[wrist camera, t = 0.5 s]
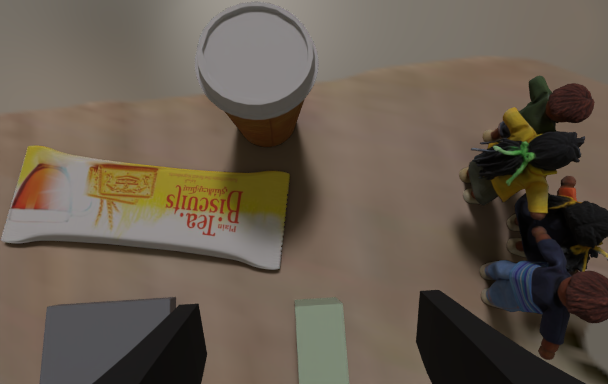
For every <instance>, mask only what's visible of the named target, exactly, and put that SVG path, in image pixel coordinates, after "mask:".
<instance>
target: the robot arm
mask: <svg viewBox="0 0 608 384" xmlns="http://www.w3.org/2000/svg"><path fill="white" fill-rule="evenodd" d="M416 343H417V346H418V349H419V352H420V355H421V358H422V361H423V363H424V366H425V369H426V371H427V374H428V376H429V378H430V380H431V382H432V384H585V383H584V382H582V381H580V380H578V379H576V378H574V377H572V376H571V375H569V374H567V373H565V372H563V371H562V370H560V369H558V368H556V367H554V366H552V365H551V364H549V363H547V362H546V361H544V360H542V359H540V358H539V357H537V356H535V355H534V354H532V353H531V352H529V351H527V350H526V349H524V348H523V347H521V346H519V345H518V344H516V343H515V342H513V341H512V340H510V339H509V338H507V337H506V336H504V335H502V334H501V333H499V332H498V331H497V330H495V329H494V328H492V327H491V326H489V325H488V324H486V323H485V322H483V321H482V320H481V319H479V318H478V317H476V316H475V315H474V314H472V313H471V312H469V311H468V310H467V309H465V308H464V307H462V306H461V305H460V304H458V303H457V302H456V301H454V300H453V299H451V298H450V297H448V296H447V295H446V294H444V293H443V292H441V291H440V290H429V291H420V298H419V311H418V323H417V336H416ZM206 357H207V351H206V345H205V339H204V333H203V327H202V322H201V316H200V310H199V304H186V305H179V306H178V307H177V308H175V309H174V310H173V311H172V312H171V313H170V314H169V315H168V316H167V317H166V318H165V319H164V320H163V321H162V322H161V323H160V324H159V325H158V326H157V327H156V328H154V329H153V330H152V331H151V332H150V333H149V334H148V335H147V336H146V337H145V338H144V339H143V340H142V341H141V342H140V343H138V344H137V345H136V346H135V347H134V348H133V349H132V350H131V351H130V352H129V353H128V354H126V355H125V356H124V357H123V358H122V359H121V360H119V361H118V362H117V363H116V364H115V365H114V366H113V367H111V368H110V369H109V370H108V371H107V372H106V373H104V374H103V375H102V376H101V377H100V378H99V379H97V380H96V381H95V382H94V383H92V384H201V381H202V377H203V372H204V367H205V362H206Z"/></svg>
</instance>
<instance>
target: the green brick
mask: <svg viewBox="0 0 608 384" xmlns="http://www.w3.org/2000/svg"><path fill="white" fill-rule="evenodd" d="M295 313H296V333H297V352H298V371H299V384H349V376H348V363H347V351H346V338H345V326H344V313H343V303H342V302H340V301H339V300H338V299H337V298H336V297H332V298H317V299H302V300H295Z"/></svg>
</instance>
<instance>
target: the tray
mask: <svg viewBox="0 0 608 384" xmlns="http://www.w3.org/2000/svg"><path fill="white" fill-rule="evenodd" d="M175 308H176V297H169V298H154V299H138V300H123V301H107V302H92V303H76V304H61V305H54V306H49V307H47V312H46V322H45V333H44V343H43V353H42V364H41V374H40V384H92V383H94V382H95V381H96V380H97V379H99V378H100V377H101V376H102V375H103V374H104V373H106V372H107V371H108V370H109V369H110V368H111V367H113V366H114V365H115V364H116V363H117V362H118V361H119V360H121V359H122V358H123V357H124V356H125V355H126V354H128V353H129V352H130V351H131V350H132V349H133V348H134V347H135V346H136V345H137V344H138V343H140V342H141V341H142V340H143V339H144V338H145V337H146V336H147V335H148V334H149V333H150V332H151V331H152V330H153V329H154V328H156V327H157V326H158V325H159V324H160V323H161V322H162V321H163V320H164V319H165V318H166V317H167V316H168V315H169V314H170V313H171V312H172V311H173V310H174V309H175Z"/></svg>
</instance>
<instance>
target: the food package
mask: <svg viewBox="0 0 608 384" xmlns="http://www.w3.org/2000/svg"><path fill="white" fill-rule="evenodd" d="M26 150H27V151H26V154H25V155H26V156H25V159H24V160H23V161H24V163H23V164H22V166H23V167H22V168H21V171H22V172H21V173H20V177H19V178H18V179H19V181H18V182H17V184H18V185H17V186H16V191H15V192H14V193H15V195H14V196H13V198H14V199H13V200H12V201H11V202H12V204H11V205H10V207H11V209H10V210H9V214H8V215H7V216H8V219H7V220H6V222H7V223H6V224H5V228H4V231H3V232H4V233H3V234H2V235H3V236H1V237H2V239H0V240H2V241H4V242H7V243H27V242H33V241H71V242H88V243H102V244H114V245H123V246H133V247H143V248H153V249H163V250H172V251H180V252H187V253H195V254H201V255H208V256H214V257H220V258H226V259H232V260H237V261H240V262H243V263H246V264H249V265H251V266H254V267H257V268H262V269H271V270H275V269H279V268H280V267H279V266H280V264H279V263H281V262H280V260H281V259H280V258H281V256H280V255H281V254H282V253H281V251H280V250H282V247H281V245H282V244H283V243H282V242H281V241H282V240H283V238H282V236H283V235H284V233H283V231H284V228H283V226H284V225H285V224H284V221H285V219H284V217H285V216H286V215H285V212H286V209H285V208H286V207H287V205H286V203H287V200H286V199H287V198H288V196H287V194H288V191H287V190H288V189H289V187H288V185H289V184H288V183H290V182H289V180H290V179H289V178H290V177H289V176H290V174H288V173H286V172H280V171H262V172H256V173H234V172H216V171H201V170H188V169H178V168H169V167H159V166H150V165H140V164H131V163H122V162H115V161H108V160H101V159H94V158H88V157H82V156H76V155H70V154H65V153H62V152H58V151H56V150H54V149H51V148H48V147H44V146H29V147H28V149H26Z"/></svg>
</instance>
